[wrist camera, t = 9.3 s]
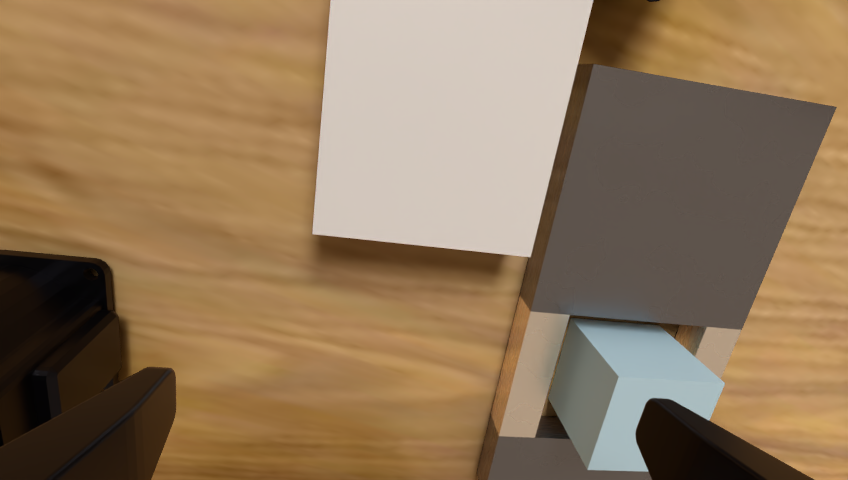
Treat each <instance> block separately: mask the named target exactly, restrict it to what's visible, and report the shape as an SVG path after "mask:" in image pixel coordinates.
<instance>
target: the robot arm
mask: <svg viewBox="0 0 848 480" xmlns="http://www.w3.org/2000/svg"><path fill="white" fill-rule="evenodd" d="M89 268H91V269H94V270H95V271H97V273H98V276H94V275H93V274H91V273H90V270H89ZM121 366H122V362H121V348H120V333H119V319H118V315H117V314H116V313H115V311H113V299H112V286H111V272H110V268H109V266H108V265H107V264H106V263H105V262H104V261H102V260H100V259H96V258H86V257H76V256H65V255H54V254H43V253H32V252H21V251H10V250H0V480H151V478H152V476H153V473H154V471H155V468H156V465H157V463H158V460H159V458H160V455H161V452H162V450H163V447H164V445H165V442H166V440H167V437H168V434H169V432H170V429H171V427H172V424H173V421H174V418H175V413H176V376H175V372H174V370H173V369H172V368H163V367H147V368H145V369H143V370H141V371H139V372H137V373H135V374H133V375H132V376H130V377H128V378H126V379H124V380H122V381H121V382H118V371H119V370H120V369H121ZM103 389H104V391H102V390H103ZM635 436H636V442H637V445H638V448H639V450H640V452H641V455H642V457H643V460H644V462H645V464H646V467H647V469H648V472H649V474H650V477H651V479H652V480H814V479H812V478H810V477H809V476H807V475H805V474H803V473H801V472H800V471H798V470H796V469H794V468H793V467H791V466H789V465H787V464H785V463H784V462H782V461H780V460H778V459H777V458H775V457H773V456H771V455H769V454H768V453H766V452H764V451H762V450H760V449H759V448H757V447H755V446H753V445H752V444H750V443H748V442H746V441H744V440H743V439H741V438H739V437H737V436H736V435H734V434H732V433H730V432H728V431H727V430H725V429H723V428H721V427H719V426H718V425H716V424H714V423H712V422H711V421H709V420H707V419H705V418H703V417H702V416H700V415H698V414H696V413H695V412H693V411H691V410H689V409H687V408H686V407H684V406H682V405H680V404H678V403H677V402H675V401H673V400H671V399H663V398H651V399H649V400H648V401H647V402H646V404H645V407H644V409H643V412H642V415H641V417H640V420H639V423H638V425H637V428H636V433H635Z"/></svg>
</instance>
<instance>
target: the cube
mask: <svg viewBox="0 0 848 480" xmlns="http://www.w3.org/2000/svg"><path fill="white" fill-rule="evenodd" d="M724 385H725V383H724V382H723V381H722V380H721V379H720V378H718V377H717V376H716V375H715V374H714V373H713V372H712V371H711V370H709V369H708V368H707V367H706V366H705V365H704V364H703V363H701V362H700V361H699V360H698V359H697V358H696V357H695V356H693V355H692V354H691V353H690V352H689V351H688V350H687V349H686V348H684V347H683V346H682V345H681V344H680V343H679V342H678V341H676V340H675V339H674V338H673V337H672V336H671V335H670V334H668V333H667V332H666V331H665V330H664V329H663V328H662V327H660V326H659V325H650V324H638V323H626V322H614V321H601V320H589V319H577V318H571V319H570V323H569V326H568V330H567V333H566V337H565V340H564V344H563V348H562V351H561V355H560V358H559V362H558V365H557V369H556V372H555V376H554V379H553V383H552V386H551V390H550V393H549V397H548V399H549V401H550V402H551V404H552V406H553V408H554V410H555V412H556V413H557V415H558V417H559V419H560V421H561V423H562V424H563V426H564V428H565V430H566V432H567V434H568V435H569V437H570V439H571V441H572V443H573V445H574V446H575V448H576V450H577V452H578V454H579V456H580V457H581V459H582V461H583V463H584V465H585V467H586V468H587V470H607V471H643V472H648V469H647V467H646V464H645V462H644V460H643V457H642V455H641V452H640V450H639V448H638V445H637V442H636V436H635V433H636V428H637V425H638V423H639V420H640V417H641V415H642V412H643V409H644V407H645V404H646V402H647V401H648V400H649V399H651V398H663V399H671V400H673V401H675V402H677V403H678V404H680V405H682V406H684V407H686V408H687V409H689V410H691V411H693V412H695V413H696V414H698V415H700V416H702V417H703V418H705V419H707V420H710V417H711V415H712V413H713V410H714V408H715V406H716V403H717V401H718V399H719V396H720V394H721V392H722V389H723V387H724Z"/></svg>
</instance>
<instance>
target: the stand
mask: <svg viewBox="0 0 848 480" xmlns="http://www.w3.org/2000/svg"><path fill="white" fill-rule="evenodd" d="M592 4H593V0H331V3H330V16H329V28H328V41H327V54H326V66H325V79H324V92H323V105H322V117H321V130H320V143H319V155H318V168H317V181H316V194H315V206H314V219H313V232H312V234H316V235H326V236H335V237H345V238H354V239H363V240H373V241H382V242H392V243H401V244H411V245H420V246H430V247H439V248H448V249H458V250H467V251H477V252H486V253H496V254H505V255H515V256H524V257H531V253H532V249H533V245H534V241H535V237H536V233H537V229H538V225H539V221H540V217H541V213H542V208H543V204H544V200H545V196H546V192H547V188H548V184H549V180H550V176H551V172H552V168H553V163H554V159H555V155H556V151H557V147H558V143H559V139H560V135H561V131H562V127H563V123H564V118H565V114H566V110H567V106H568V102H569V98H570V94H571V90H572V86H573V82H574V78H575V73H576V69H577V65H578V61H579V57H580V53H581V49H582V45H583V41H584V37H585V33H586V28H587V24H588V20H589V16H590V12H591V8H592Z"/></svg>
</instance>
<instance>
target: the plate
mask: <svg viewBox="0 0 848 480" xmlns="http://www.w3.org/2000/svg"><path fill="white" fill-rule="evenodd" d="M835 110H836V107H834V106H828V105H822V104H817V103H811V102H805V101H800V100H794V99H789V98H783V97H777V96H772V95H766V94H760V93H755V92H749V91H743V90H738V89H732V88H726V87H721V86H715V85H710V84H704V83H698V82H693V81H687V80H681V79H676V78H670V77H664V76H659V75H653V74H648V73H642V72H636V71H631V70H625V69H619V68H614V67H608V66H602V65H597V64H578V65H577V69H576V73H575V78H574V82H573V86H572V90H571V94H570V98H569V102H568V106H567V110H566V114H565V118H564V123H563V127H562V131H561V135H560V139H559V143H558V147H557V151H556V155H555V159H554V163H553V168H552V172H551V176H550V180H549V184H548V188H547V192H546V196H545V200H544V204H543V208H542V213H541V217H540V221H539V225H538V229H537V233H536V237H535V241H534V245H533V249H532V253H531V257H529V259H528V264H527V268H526V272H525V276H524V280H523V284H522V288H521V292H520V296H519V301H518V305H517V309H516V313H515V317H514V321H513V325H512V329H511V333H510V338H509V342H508V346H507V350H506V354H505V358H504V362H503V366H502V370H501V375H500V379H499V383H498V387H497V391H496V395H495V399H494V403H493V407H492V412H491V416H490V420H489V424H488V428H487V432H486V436H485V440H484V444H483V449H482V453H481V457H480V461H479V465H478V469H477V476H478V480H652V479H651V477H650V474H649V472H643V471H607V470H587V468H586V467H585V465H584V463H583V461H582V459H581V457H580V456H579V454H578V452H577V450H576V448H575V446H574V445H573V443H572V441H571V439H570V437H569V435H568V434H567V432H566V430H565V428H564V426H563V424H562V423H561V421H560V419H559V417H546V416H541V414H542V411H543V407H544V404H545V400H546V397H547V393H548V390H549V386H550V383H551V379H552V376H553V372H554V369H555V365H556V362H557V358H558V355H559V351H560V348H561V344H562V341H563V337H564V334H565V331H566V327H567V324H568V320H569V317H570V315H576V316H588V317H599V318H611V319H622V320H634V321H646V322H657V323H669V324H680V326H679V329H678V332H677V334H676V337H675V340H676V341H678V342H679V343H680V344H681V345H682V346H683V347H684V348H686V349H687V350H688V351H689V352H690V353H691V354H692V355H693V356H695V357H696V358H697V359H698V360H699V361H700V362H701V363H703V364H704V365H705V366H706V367H707V368H708V369H709V370H711V371H712V372H713V373H714V374H715V375H716V376H717V377H718V378H720V379H721V377H722V374H723V372H724V370H725V367H726V365H727V363H728V360H729V358H730V356H731V353H732V351H733V349H734V346H735V344H736V342H737V339H738V337H739V335H740V332H741V330H742V328H743V325H744V323H745V321H746V318H747V316H748V313H749V311H750V309H751V306H752V304H753V302H754V299H755V297H756V295H757V292H758V290H759V288H760V285H761V283H762V281H763V278H764V276H765V274H766V271H767V269H768V267H769V264H770V262H771V260H772V257H773V255H774V253H775V250H776V248H777V246H778V243H779V241H780V239H781V236H782V234H783V231H784V229H785V227H786V224H787V222H788V220H789V217H790V215H791V213H792V210H793V208H794V206H795V203H796V201H797V199H798V196H799V194H800V192H801V189H802V187H803V185H804V182H805V180H806V178H807V175H808V173H809V171H810V168H811V166H812V164H813V161H814V159H815V156H816V154H817V152H818V149H819V147H820V145H821V142H822V140H823V138H824V135H825V133H826V131H827V128H828V126H829V124H830V121H831V119H832V117H833V114H834V112H835Z"/></svg>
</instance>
